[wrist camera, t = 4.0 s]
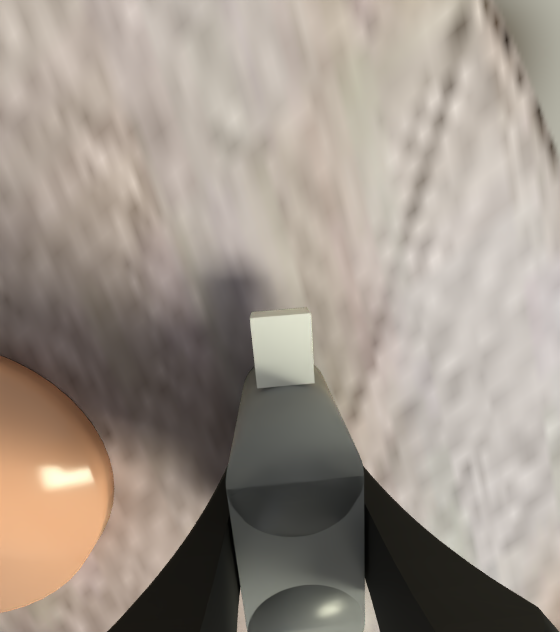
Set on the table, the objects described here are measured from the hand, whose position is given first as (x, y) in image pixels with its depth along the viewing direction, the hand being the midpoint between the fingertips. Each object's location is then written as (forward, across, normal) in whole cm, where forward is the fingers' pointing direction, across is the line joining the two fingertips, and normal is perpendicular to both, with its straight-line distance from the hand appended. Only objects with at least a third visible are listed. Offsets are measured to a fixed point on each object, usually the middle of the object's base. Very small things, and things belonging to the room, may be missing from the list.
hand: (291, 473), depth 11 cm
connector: (+2, 0, -1) cm, 2 cm away
